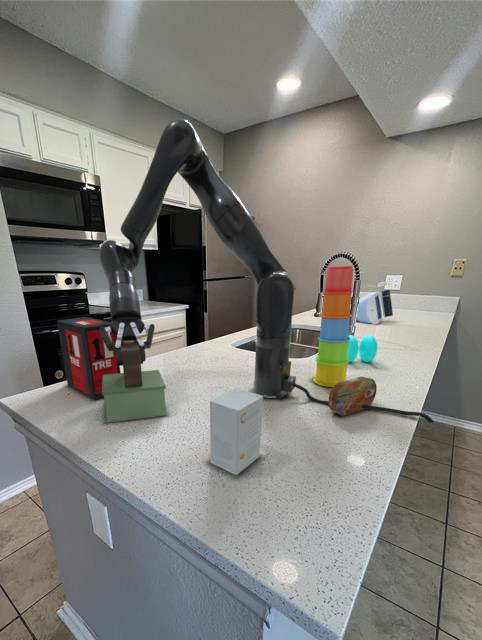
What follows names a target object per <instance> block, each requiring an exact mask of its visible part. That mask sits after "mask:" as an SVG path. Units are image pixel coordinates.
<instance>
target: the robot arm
mask: <svg viewBox="0 0 482 640" xmlns="http://www.w3.org/2000/svg"><path fill="white" fill-rule="evenodd" d="M177 173H178V174H179V176H180V177H181V178H182V180H183V181H185V183H187V185H188V186H189V187H190V188H191V190H192V191H193V193H194V194H195V195H196V197H197V199H198V201H199V203H200V205H201V208H202V210H203V212H204V214H205V216H206V218H207V220H208V221H209V223H210V225H211V227H212V228H213V230H214V231H215V233H216V234H217V236H218V237H219V239H220V240H221V242H222V243H223V244H224V245H225V247H226V248H227V249H228V250H229V251H230V252H231V253H232V254H233V255H234V256H235V258H237V259H238V261H240V262H241V263H242V264H243V265H244V266H245V268H246V269H247V270H248V271H249V273H250V274H251V276H252V277H253V280H254V281H255V282H256V284H257V291H256V305H255V306H256V307H255V325H256V338H255V340H256V342H255V359H254V375H253V376H254V377H253V390H252V391H253V392H252V393H255V394H258V395H261V396H263V399H277V400H278V399H279V400H282V398H283V397H285V396H286V395H287V394H289V393H291V394H292V392H293V390H294V389H295V388H296V389H298V390H301V391H302V392H304V394H305V395H306V397H307V399H309V400H310V401H312V402H314V403H318V404H322V405H325V406H327V405H328V406H329V400H322V399H318V398H315V397H314V396H312V395H311V394H310V392H309V390H308V389H307V388H305V387H304V386H303V385H300V384H298V383H296V381H297V376H296V375H291V369H292V361H291V360H290V351H291V340H292V332H293V331H292V330H293V310H294V309H293V307H294V298H295V296H296V293H297V285H296V282H295V280H294V278H293V277H292V275H290V273H289V272H288V271H287V270H286V269H285V268H284V266H283V265H281V264H282V263H280V261H279V260H278V258H276V257H275V255H274V254H273V252H272V251H271V250H270V248H269V246H268V244H267V242H266V240H265V239H264V237H263V234H262V233H261V231H260V229H259V228H258V226H257V223H255V221H254V219H253V218H252V215H251V214H250V212H249V211H248V209H247V208H246V207H245V205H244V203H243V202H242V201H241V199H240V198H239V197H238V195H237V194H236V193H235V191H233V190H232V188H231V187H230V186H229V185H228V184H227V183H226V182H225V181H224V180H223V179H222V178H221V176H220V175H219V173H218V172H217V171H216V169H215V167H214V166H213V163H212V162H211V160H210V158H209V156H208V154H207V152H206V150H205V147H204V145H203V143H202V141H201V139H200V136H199V135H198V133H197V132H196V130H195V128H194V127H193V125H192V124H191V123H190V122H189V121H188V120H186V119H183V118H177V119H173V120H171V121H170V122H169V123H168V124H167V125H166V126H165V128H164V129H163V131H162V133H161V136H160V138H159V141H158V143H157V145H156V149H155V152H154V154H153V157H152V160H151V163H150V165H149V167H148V170H147V173H146V176H145V178H144V180H143V183H142V185H141V188H140V189H139V192H138V194H137V196H136V198H135V200H134V202H133V204H132V205H131V207H130V209H129V211H128V212H127V214H126V216H125V218H124V220H123V222H122V223H121V225H120V232H121V234H122V235H123V236H124V237H125V238H126V239H127V240H128V242H129V243H128V244H129V245H128V247H126V246H125V245H123V244H121V243H119V242H117V241H116V240H113V239H109V240H106V241H104V242H103V243H102V244H101V246H100V248H99V254H98V255H99V256H98V257H99V262H100V266H101V268H102V270H103V273H104V275H105V277H106V279H107V281H108V291H109V295H108V301H109V311H110V320H111V321H110V322H111V324H110V326H109V327H106V328H104V327H103V326H101V327H100V328H99V329H100V334H101V336H102V338H103V340H104V342H105V345H106V347H107V349H108V350H109V351H115V352H116V359H117V363H119V364H120V367H121V366H122V367H123V361H122V351H121V343H122V342H123V341H129V340H134V341H136V342H137V344H138V347H139V350H140V359H141V365H144V362H146V349H151V347H152V343H153V339H154V334H155V329H156V327H155V324H154V323H150V324H145V322H144V321H143V319H142V313H141V306H140V299H139V298H140V297H139V295H138V294H139V293H138V290H137V284H136V279H135V275H134V272H136V270H137V268H138V266H139V262H140V259H141V255H142V251H143V248H144V245H145V242H146V240H147V238H148V236H149V235H150V233H151V232H152V230H153V228H154V226H155V225H156V223H157V221H158V218H159V216H160V213H161V210H162V206H163V203H164V201H165V200H164V199H165V196H166V193H167V191H168V190H169V189H168V188H169V187H170V184H171V182H172V181H173V179H174V178H175V176H176V175H177ZM111 331H112V332H113V333H114V334H115V335H116V336H117V340H116V344H113V343H112V342H111V340H110V338H109V336H110V332H111ZM143 331H145V333H146V334H147V336H146V340H145V341H143V337H142V333H143ZM362 408H364V410H372V411H379V412H387V413H393V414H399V415H402V416H403V415H404V416H415V417H420V418H423V419H425V420H426V422H428V423H430V424H434V423H435V422H434V420H433V419H432V418H431V417H430V416H429V415H428V414H426V413H423V412H419V411H407V410H402V409H396V408H389V407H383V406H376V405H375V406H374V405H370V406H369V405H363V406H362ZM419 415H420V416H419Z"/></svg>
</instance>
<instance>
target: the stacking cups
mask: <svg viewBox="0 0 482 640" xmlns="http://www.w3.org/2000/svg"><path fill="white" fill-rule="evenodd" d="M353 274H354V268H353V265H342V266H341V265H340V266H328V267H327V269H326V274H325V287H324V291H322V293H323V301H322V303H323V304H322V311H321V314H319V316H320V317H321V319H320V329H319V330H320V331H319V336H318V337H317V340H318V350H317V357H315V362H316V368H315V376H314V377H313V378H312V381H313V382H314V384H317V385H318V386H322V387H326V388H333V387H334V385H336V384H337V383H339V382H341V381H345V380H348V379H347V370H348V364H349V363H350V362H349V359H348V358H347V354H348V342H349V340H350V337H348V336H349V335H350V323H351V318H350V317H352V315H351V314H350V307H351V305H352V294H353V293H354V290H352V289H353V288H352V287H353V278H354V277H353Z"/></svg>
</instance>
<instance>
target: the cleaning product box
mask: <svg viewBox="0 0 482 640" xmlns="http://www.w3.org/2000/svg"><path fill="white" fill-rule="evenodd" d="M56 324H57V330H58V337H59V343H60V349H61V353H62V361H63V366H64V367H63V368H64V371H65V372H64V373H65V378H66V385H67V386H68V387H70V388H72V389H73V390H76V391H77V392H79V393H81V394H82V395H84V396H86V397H88V398H90V399H91V400H93V401H96V400H100V399H102V398H103V399H104V395H102V383H103V375H107V374H118V373H121V366H120V363H117V359H116V352H115V351H109V350H108V349H107V347H106V345H105V342H104V340H103V338H102V336H101V334H100V329H99V328H100V327H101V326H103V327H104V328H106V327H109V326H110V324H111V321H106V320H102V319H97V318H93V317H88V316H83V317H75V318H66V319H59V320H56ZM109 338H110V340H111V342H112V343H113V344H116V340H117V336H116V335H115V334H114V333H113V332H112V331H111V332H110V336H109Z"/></svg>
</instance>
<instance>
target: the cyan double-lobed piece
mask: <svg viewBox="0 0 482 640" xmlns="http://www.w3.org/2000/svg"><path fill="white" fill-rule="evenodd" d="M348 337H350V340H349V342H348V354H347V358H348V359H349V363H350V362H351V363H352V362H354V360H356V358H357V357H358V354H359V357H360V359H361V360H362V361H363V362H365V363H370V362H372V361H374V359H375V358H376V356H377V353H378V342H377V339H376V338H375V337H374V336H373V335H371V334H368V335H365V336H363V338H362V339H361V340H360V342H358V339H357V338H356V337H355V336H354V335H351V334H349V336H348Z"/></svg>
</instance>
